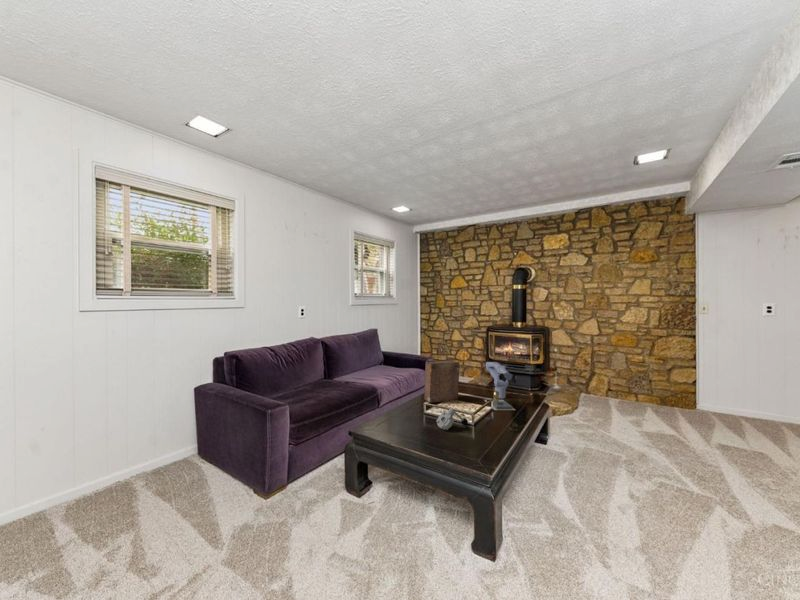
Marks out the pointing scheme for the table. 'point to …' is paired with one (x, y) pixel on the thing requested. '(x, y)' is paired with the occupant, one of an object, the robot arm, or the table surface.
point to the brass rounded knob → (496, 396)
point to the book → (441, 381)
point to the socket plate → (501, 405)
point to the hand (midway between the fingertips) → (510, 381)
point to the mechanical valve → (449, 419)
